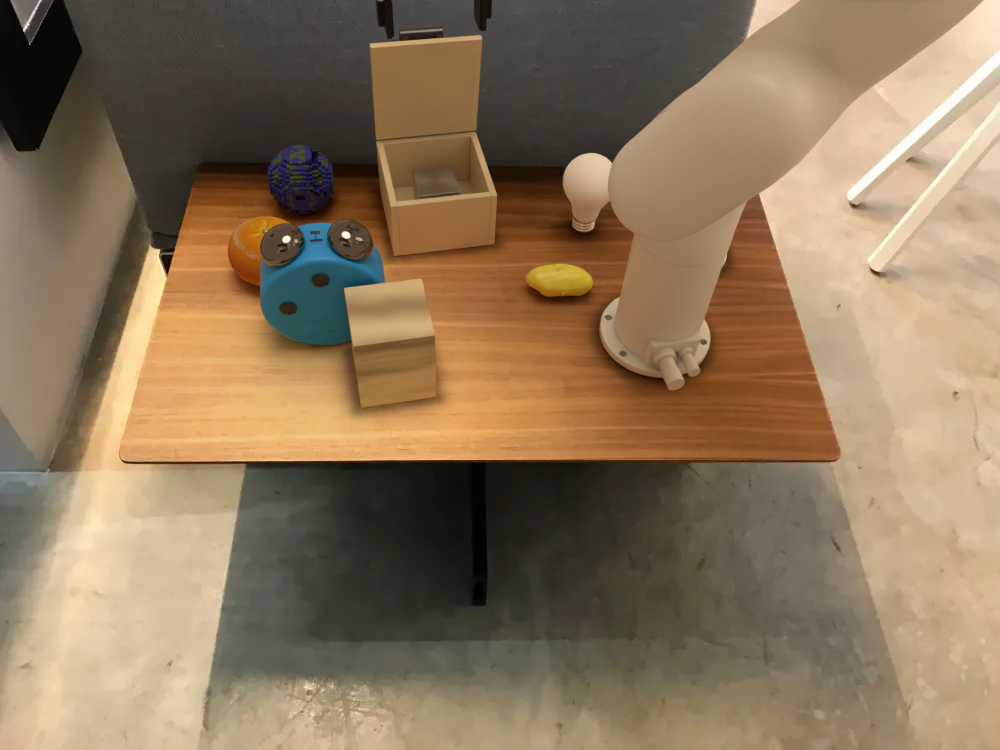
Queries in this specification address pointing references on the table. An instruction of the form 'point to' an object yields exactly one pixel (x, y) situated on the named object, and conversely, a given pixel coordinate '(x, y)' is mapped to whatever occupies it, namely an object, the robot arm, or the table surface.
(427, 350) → the block
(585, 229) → the light bulb
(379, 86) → the wooden box lid
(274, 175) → the ball
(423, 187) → the steel block
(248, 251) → the fruit
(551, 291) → the yellow potato
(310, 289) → the alarm clock
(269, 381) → the table surface
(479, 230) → the open storage bin
